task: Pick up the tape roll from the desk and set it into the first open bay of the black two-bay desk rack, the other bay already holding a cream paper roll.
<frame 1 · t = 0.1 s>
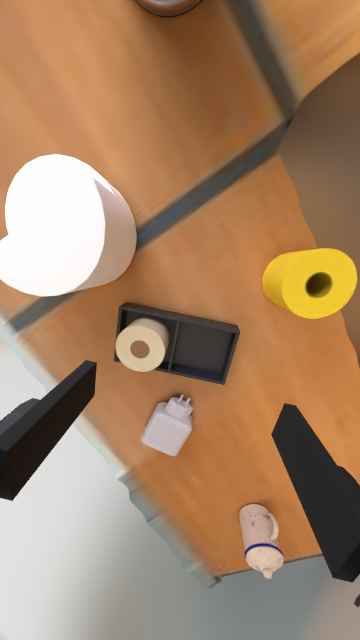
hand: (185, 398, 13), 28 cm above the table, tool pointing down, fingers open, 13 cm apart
rack: (175, 340, 43), on the table
white notched cylinder: (87, 234, 38), on the table
paper roll: (149, 334, 43), resting on rack
charger: (173, 411, 48), on the table
teacup with lid: (256, 509, 55), on the table
tape roll: (288, 279, 37), on the table
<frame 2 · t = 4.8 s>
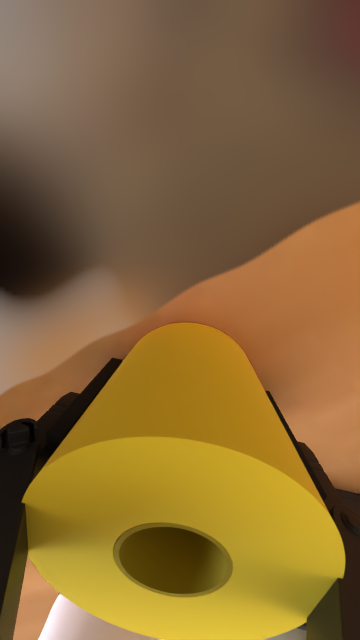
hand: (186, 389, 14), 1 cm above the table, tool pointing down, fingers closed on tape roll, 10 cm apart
rack: (311, 572, 20), on the table
white notched cylinder: (123, 623, 27), on the table
tape roll: (186, 382, 15), on the table, touching gripper
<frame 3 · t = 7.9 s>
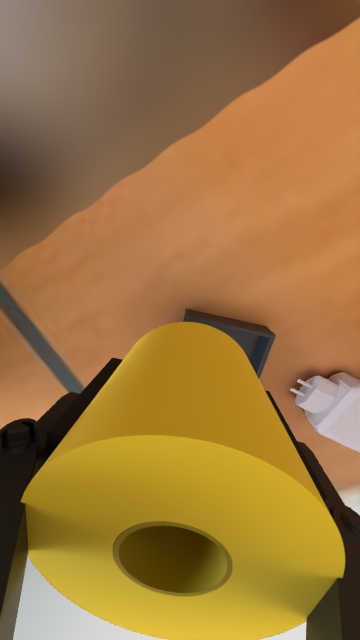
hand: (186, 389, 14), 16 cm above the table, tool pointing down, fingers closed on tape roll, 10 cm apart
rack: (206, 384, 32), on the table
charger: (326, 394, 31), on the table
tape roll: (186, 381, 15), point 15 cm above the table, touching gripper
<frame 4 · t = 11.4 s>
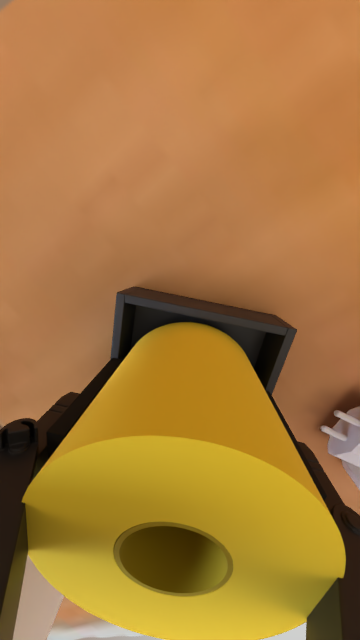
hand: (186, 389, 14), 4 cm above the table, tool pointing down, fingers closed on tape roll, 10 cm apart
rack: (178, 413, 20), on the table
white notched cylinder: (21, 506, 27), on the table
tape roll: (187, 382, 15), point 3 cm above the table, touching gripper
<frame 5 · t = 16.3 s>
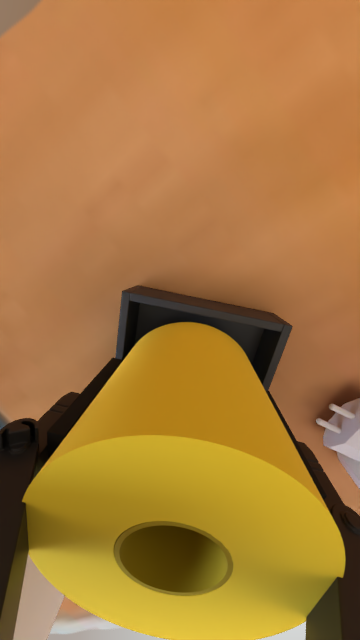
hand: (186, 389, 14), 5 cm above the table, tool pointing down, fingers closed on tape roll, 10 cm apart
rack: (179, 408, 21), on the table
white notched cylinder: (27, 498, 28), on the table
tape roll: (187, 382, 15), point 4 cm above the table, touching gripper
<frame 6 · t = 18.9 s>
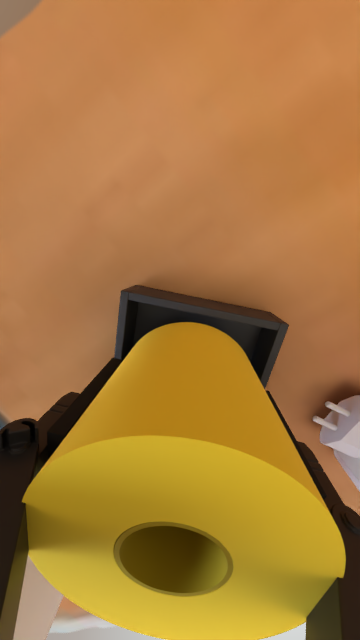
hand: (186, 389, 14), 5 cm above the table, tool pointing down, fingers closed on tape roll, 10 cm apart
rack: (178, 406, 21), on the table
white notched cylinder: (26, 498, 28), on the table
tape roll: (187, 382, 15), point 4 cm above the table, touching gripper
when the fingers open (5 cm above the table, at t = 21.0 s): tape roll drops 4 cm, resting on rack.
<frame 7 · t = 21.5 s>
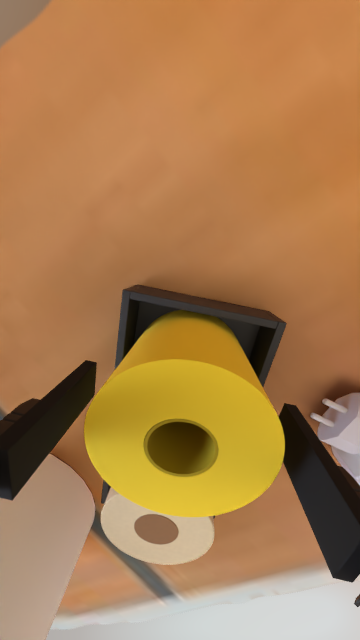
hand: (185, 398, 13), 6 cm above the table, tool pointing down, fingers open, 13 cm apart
rack: (178, 404, 21), on the table
white notched cylinder: (28, 495, 28), on the table
paper roll: (169, 444, 23), resting on rack
tape roll: (188, 358, 19), resting on rack
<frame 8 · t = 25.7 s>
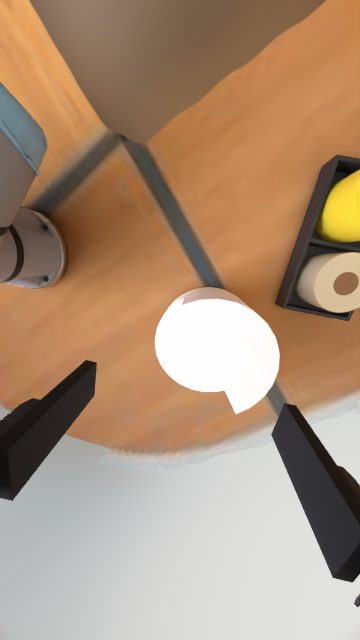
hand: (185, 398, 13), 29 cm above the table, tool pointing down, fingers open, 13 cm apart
rack: (329, 248, 36), on the table
white notched cylinder: (206, 332, 42), on the table
paper roll: (317, 279, 37), resting on rack
tape roll: (344, 212, 34), resting on rack
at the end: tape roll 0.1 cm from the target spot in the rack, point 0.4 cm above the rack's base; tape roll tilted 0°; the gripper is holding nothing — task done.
